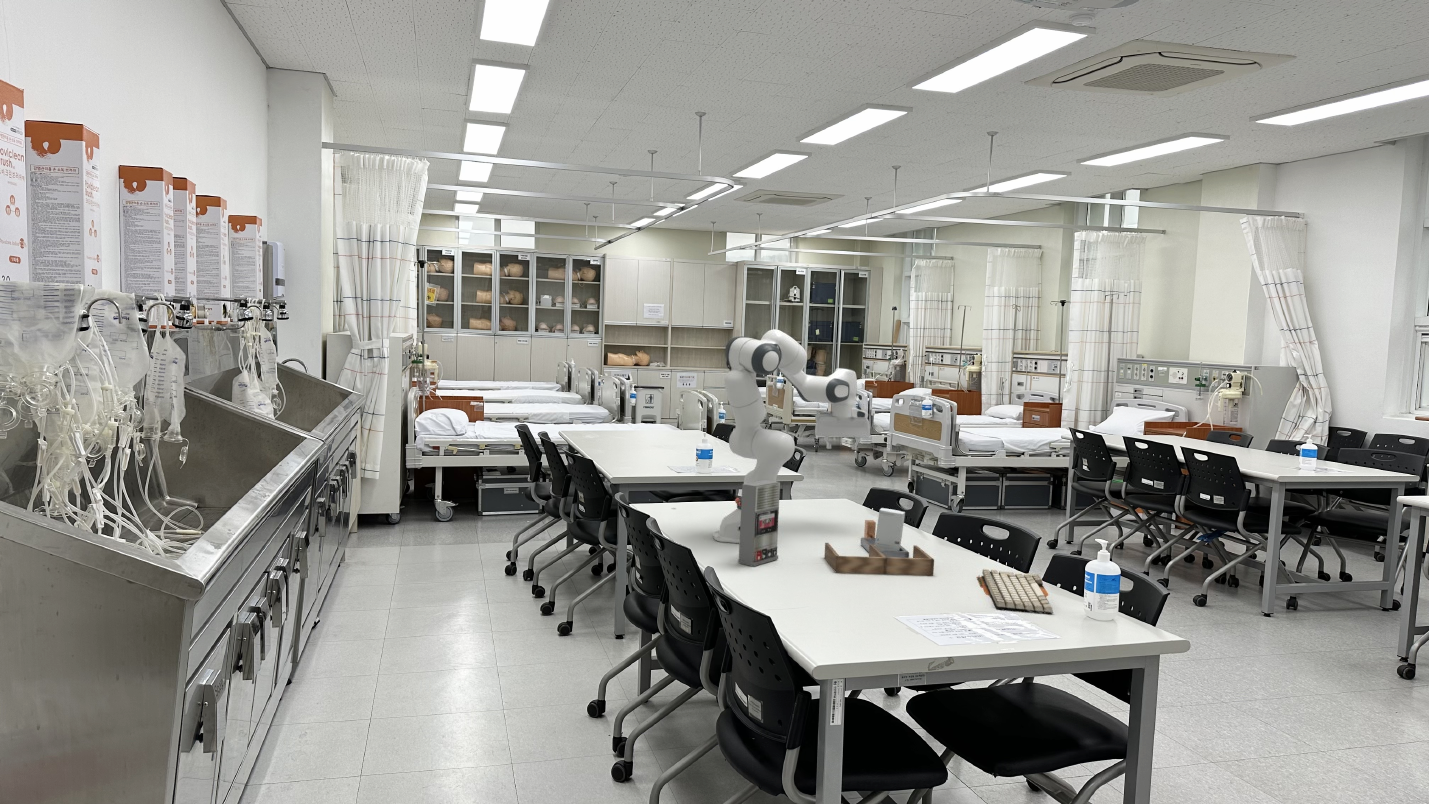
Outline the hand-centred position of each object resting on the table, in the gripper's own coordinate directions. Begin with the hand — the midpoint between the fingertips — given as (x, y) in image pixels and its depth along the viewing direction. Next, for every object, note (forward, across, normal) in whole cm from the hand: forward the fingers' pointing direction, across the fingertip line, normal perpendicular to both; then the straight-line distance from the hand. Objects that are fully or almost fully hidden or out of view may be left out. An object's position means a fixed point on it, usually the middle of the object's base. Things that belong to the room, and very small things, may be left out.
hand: (841, 449), depth 333 cm
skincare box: (+31, +10, -36) cm, 48 cm away
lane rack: (+31, +2, -52) cm, 61 cm away
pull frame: (+31, +10, -25) cm, 41 cm away
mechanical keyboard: (+32, +36, -80) cm, 94 cm away
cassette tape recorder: (+31, -35, -51) cm, 69 cm away
